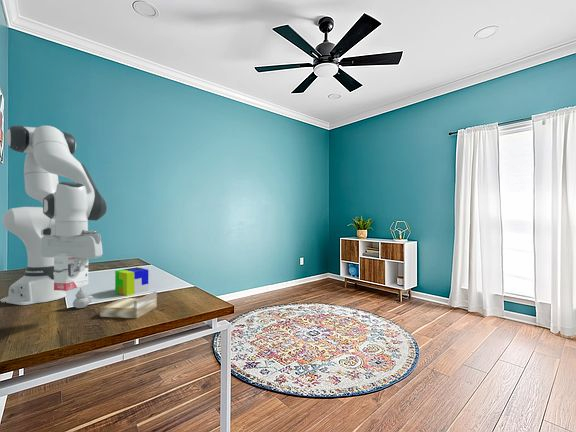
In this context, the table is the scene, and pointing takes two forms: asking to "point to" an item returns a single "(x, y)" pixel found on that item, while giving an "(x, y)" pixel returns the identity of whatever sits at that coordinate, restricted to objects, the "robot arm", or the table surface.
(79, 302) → the grey tiered figurine
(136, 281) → the puzzle toy
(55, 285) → the ink box
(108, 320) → the table surface
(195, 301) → the table surface
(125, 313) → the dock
